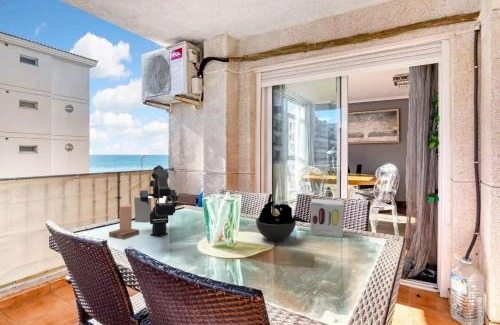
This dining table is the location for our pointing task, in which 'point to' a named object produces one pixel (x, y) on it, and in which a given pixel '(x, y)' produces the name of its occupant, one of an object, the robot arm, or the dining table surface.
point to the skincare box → (142, 210)
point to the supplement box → (327, 217)
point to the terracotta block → (125, 218)
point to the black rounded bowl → (276, 222)
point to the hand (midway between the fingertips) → (157, 204)
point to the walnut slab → (123, 234)
